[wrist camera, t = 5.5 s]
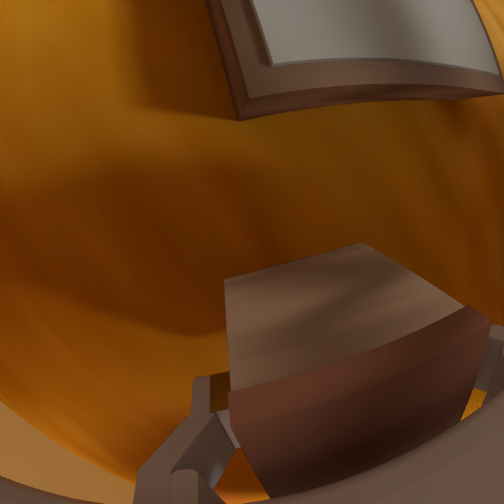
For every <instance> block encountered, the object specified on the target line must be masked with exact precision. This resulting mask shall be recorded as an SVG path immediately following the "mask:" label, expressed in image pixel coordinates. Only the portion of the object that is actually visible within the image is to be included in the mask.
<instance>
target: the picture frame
mask: <svg viewBox="0 0 504 504" xmlns="http://www.w3.org/2000/svg"><path fill="white" fill-rule="evenodd" d="M205 2H206V5H207V9H208V12H209V16H210V19H211V23H212V26H213V30H214V33H215V37H216V41H217V44H218V48H219V52H220V55H221V59H222V63H223V66H224V70H225V74H226V77H227V81H228V85H229V89H230V92H231V96H232V100H233V104H234V108H235V111H236V115H237V119H238V122H239V121H243V120H248V119H252V118H257V117H262V116H267V115H272V114H278V113H283V112H289V111H295V110H302V109H308V108H315V107H323V106H331V105H340V104H350V103H361V102H375V101H394V100H452V101H455V100H461V99H468V98H475V97H483V96H492V95H501V94H504V80H503V77H502V73H501V70H500V67H499V63H498V60H497V57H496V54H495V51H494V49H493V46H492V43H491V41H490V38H489V35H488V33H487V30H486V28H485V26H484V23H483V21H482V19H481V17H480V14H479V12H478V10H477V8H476V6H475V4H474V2H473V0H205Z"/></svg>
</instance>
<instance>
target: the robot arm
mask: <svg viewBox="0 0 504 504" xmlns="http://www.w3.org/2000/svg"><path fill="white" fill-rule="evenodd" d="M474 388H477V389H480V390H482V391H485V392H487V393H486V395H485V398H484V400H483V402H482V407H480V408H479V409H477V410H476V411H475V412H473V413H472V414H471V415H469V416H468V417H466V418H465V419H463V420H462V421H460V422H459V423H457V424H456V425H454V426H453V427H451V428H449V429H448V430H446V431H445V432H443V433H441V434H440V435H438V436H436V437H435V438H433V439H431V440H429V441H428V442H426V443H424V444H422V445H420V446H418V447H417V448H415V449H413V450H411V451H409V452H407V453H405V454H403V455H401V456H399V457H397V458H395V459H392V460H390V461H388V462H386V463H384V464H381V465H379V466H377V467H374V468H372V469H369V470H367V471H364V472H362V473H359V474H357V475H354V476H351V477H349V478H346V479H343V480H340V481H337V482H334V483H331V484H328V485H325V486H321V487H318V488H314V489H311V490H307V491H303V492H300V493H296V494H291V495H287V496H283V497H278V498H273V499H268V500H262V501H257V502H250V503H244V504H504V326H500V325H494V324H492V326H491V330H490V334H489V338H488V342H487V346H486V350H485V353H484V357H483V360H482V363H481V367H480V370H479V373H478V376H477V379H476V382H475V385H474ZM230 391H231V384H230V371H228V372H223V373H217V374H212V375H207V376H202V377H196V378H195V379H194V381H193V389H192V402H191V416H190V417H185V419H184V420H183V421H182V422H181V423H180V424H179V425H178V427H177V428H176V429H175V430H174V431H173V432H172V433H171V434H170V436H169V437H168V438H167V439H166V440H165V441H164V442H163V443H162V445H161V446H160V447H159V448H158V449H157V450H156V451H155V452H154V453H153V454H152V455H151V457H150V458H149V459H148V460H147V461H146V462H145V463H144V464H143V465H142V466H141V467H140V468H139V469H138V474H137V480H136V486H135V492H134V499H133V504H226V503H225V502H224V501H223V500H222V499H221V498H220V497H219V496H218V495H217V494H216V493H215V491H214V490H213V489H214V488H215V486H216V484H217V482H218V481H219V479H220V477H221V475H222V474H223V472H224V470H225V468H226V466H227V465H228V463H229V461H230V459H231V457H232V455H233V454H234V452H235V449H236V448H241V446H240V444H239V443H238V441H237V439H236V437H235V435H234V433H233V431H232V429H231V427H230V419H229V405H228V392H230ZM0 504H103V503H97V502H91V501H85V500H80V499H74V498H70V497H66V496H62V495H57V494H54V493H50V492H46V491H43V490H39V489H36V488H33V487H30V486H27V485H24V484H21V483H18V482H15V481H13V480H10V479H7V478H5V477H2V476H0Z"/></svg>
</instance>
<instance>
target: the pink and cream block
mask: <svg viewBox="0 0 504 504" xmlns="http://www.w3.org/2000/svg"><path fill="white" fill-rule="evenodd" d="M224 292H225V310H226V327H227V342H228V357H229V371H230V384H231V391H230V392H228V405H229V419H230V427H231V429H232V431H233V433H234V435H235V437H236V439H237V441H238V443H239V444H240V446H241V448H242V450H243V452H244V454H245V456H246V457H247V459H248V461H249V463H250V465H251V466H252V468H253V470H254V472H255V473H256V475H257V477H258V479H259V480H260V482H261V484H262V485H263V487H264V489H265V490H266V492H267V494H268V495H269V497H270V499H273V498H278V497H283V496H287V495H291V494H296V493H300V492H303V491H307V490H311V489H314V488H318V487H321V486H325V485H328V484H331V483H334V482H337V481H340V480H343V479H346V478H349V477H351V476H354V475H357V474H359V473H362V472H364V471H367V470H369V469H372V468H374V467H377V466H379V465H381V464H384V463H386V462H388V461H390V460H392V459H395V458H397V457H399V456H401V455H403V454H405V453H407V452H409V451H411V450H413V449H415V448H417V447H418V446H420V445H422V444H424V443H426V442H428V441H429V440H431V439H433V438H435V437H436V436H438V435H440V434H441V433H443V432H445V431H446V430H448V429H449V428H451V427H453V426H454V425H456V424H457V423H459V422H460V420H461V418H462V415H463V413H464V411H465V408H466V406H467V403H468V401H469V398H470V395H471V393H472V390H473V387H474V385H475V382H476V379H477V376H478V373H479V370H480V367H481V363H482V360H483V357H484V353H485V350H486V346H487V342H488V338H489V334H490V330H491V326H492V321H491V320H490V319H488V318H487V317H486V316H484V315H483V314H481V313H480V312H478V311H477V310H475V309H474V308H473V307H471V306H470V305H467V306H464V305H462V304H461V303H459V302H458V301H456V300H455V299H453V298H452V297H450V296H449V295H447V294H446V293H444V292H443V291H441V290H440V289H438V288H437V287H435V286H434V285H432V284H431V283H429V282H428V281H426V280H424V279H423V278H421V277H420V276H418V275H417V274H415V273H413V272H412V271H410V270H409V269H407V268H405V267H404V266H402V265H401V264H399V263H397V262H396V261H394V260H392V259H391V258H389V257H387V256H386V255H384V254H382V253H381V252H379V251H377V250H376V249H374V248H372V247H371V246H369V245H367V244H365V243H364V242H361V243H357V244H354V245H350V246H347V247H343V248H340V249H336V250H332V251H329V252H325V253H321V254H318V255H314V256H310V257H307V258H303V259H299V260H296V261H292V262H288V263H284V264H281V265H277V266H273V267H269V268H265V269H262V270H258V271H254V272H250V273H246V274H242V275H239V276H235V277H231V278H227V279H224Z"/></svg>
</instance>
